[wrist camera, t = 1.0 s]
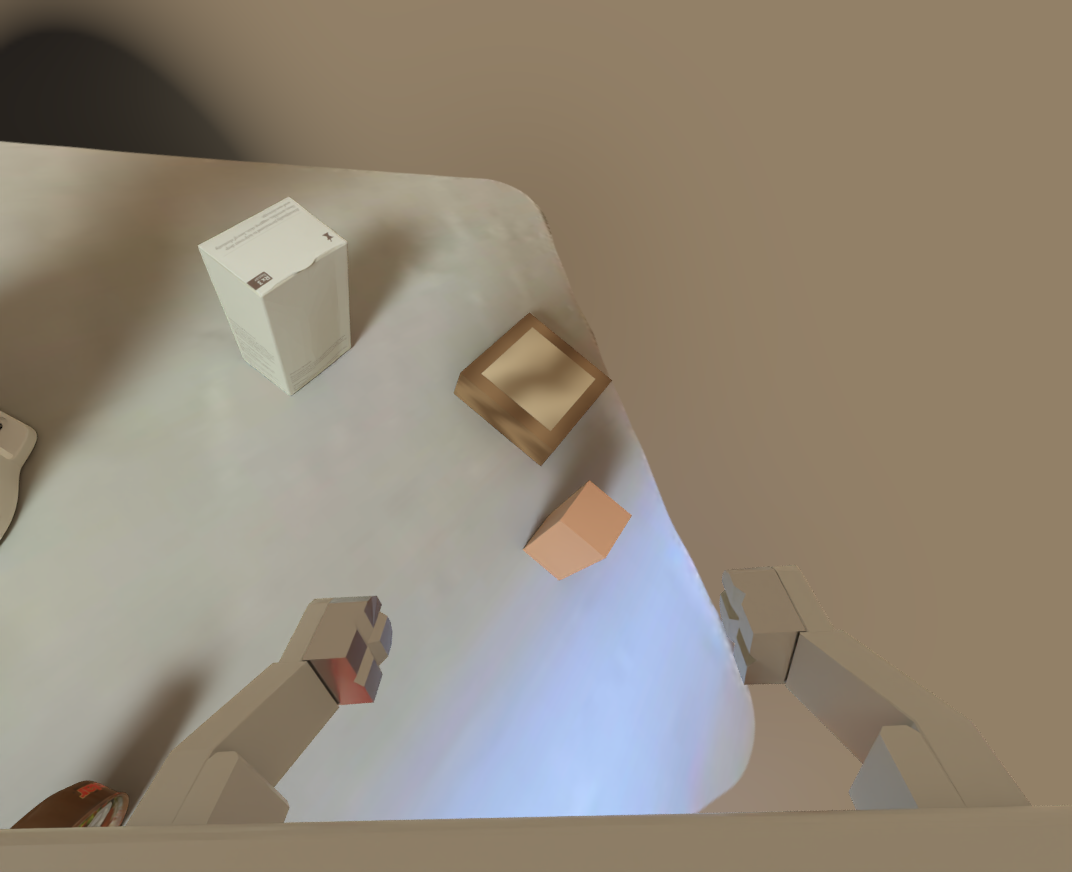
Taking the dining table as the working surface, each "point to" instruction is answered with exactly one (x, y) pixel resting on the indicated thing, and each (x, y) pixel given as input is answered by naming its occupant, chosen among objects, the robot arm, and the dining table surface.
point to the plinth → (531, 387)
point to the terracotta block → (578, 532)
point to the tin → (78, 808)
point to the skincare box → (283, 292)
